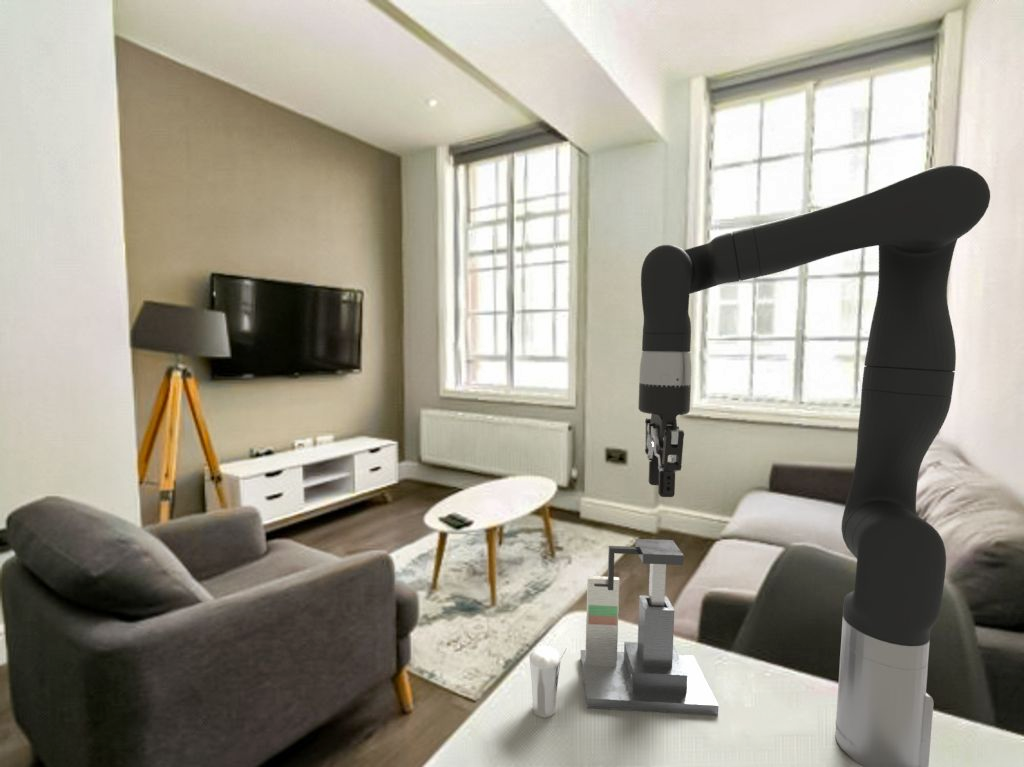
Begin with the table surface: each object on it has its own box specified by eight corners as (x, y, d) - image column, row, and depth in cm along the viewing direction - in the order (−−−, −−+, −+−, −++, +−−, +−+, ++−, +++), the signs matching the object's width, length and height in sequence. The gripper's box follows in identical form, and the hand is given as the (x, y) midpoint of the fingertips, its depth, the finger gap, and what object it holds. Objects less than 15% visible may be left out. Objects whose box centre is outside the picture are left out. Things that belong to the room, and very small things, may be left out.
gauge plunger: (670, 609, 82) (673, 540, 81) (680, 629, 76) (683, 555, 75) (605, 606, 82) (607, 537, 82) (610, 626, 76) (612, 552, 76)
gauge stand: (693, 664, 85) (697, 572, 84) (718, 715, 73) (723, 609, 72) (580, 658, 86) (583, 567, 85) (587, 708, 74) (590, 603, 73)
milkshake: (561, 726, 71) (562, 657, 70) (524, 716, 72) (526, 650, 72) (567, 704, 75) (569, 640, 74) (533, 696, 77) (534, 633, 76)
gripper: (705, 385, 69) (700, 505, 70) (676, 379, 83) (672, 479, 85) (650, 384, 69) (646, 503, 71) (631, 378, 84) (627, 477, 85)
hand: (660, 489), depth 78 cm, fingers open, 6 cm apart
